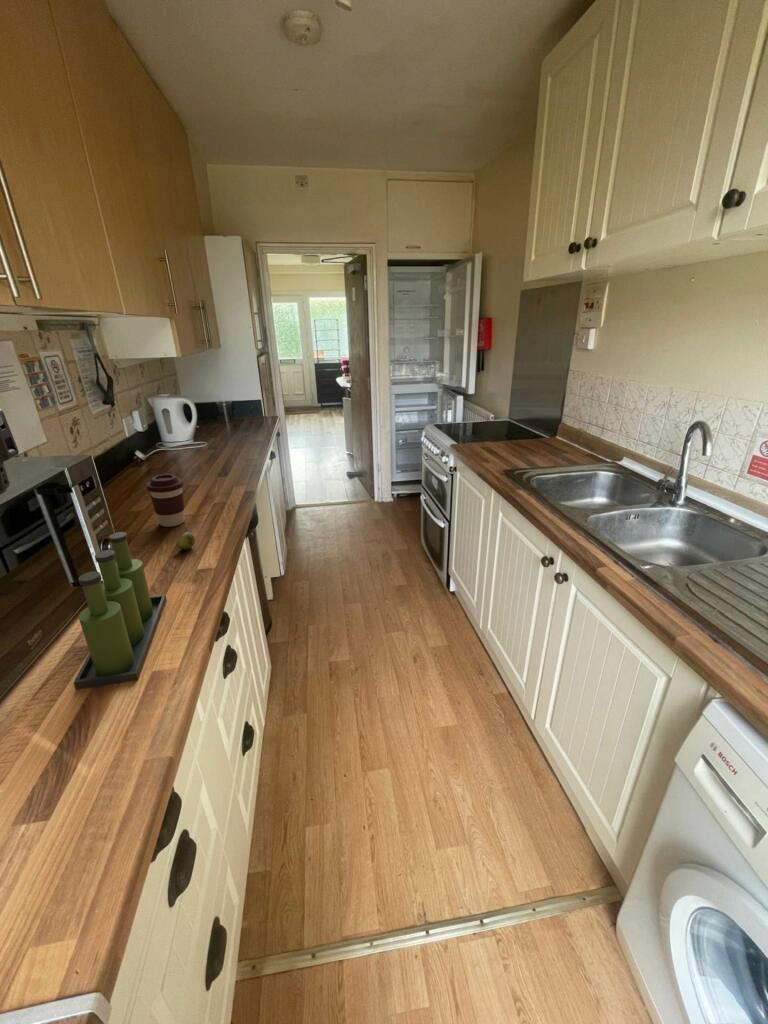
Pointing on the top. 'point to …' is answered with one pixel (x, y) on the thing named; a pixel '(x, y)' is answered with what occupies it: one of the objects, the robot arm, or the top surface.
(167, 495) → the coffee cup
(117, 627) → the bottle loose
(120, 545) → the bottle far
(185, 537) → the lime
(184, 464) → the top surface
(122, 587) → the bottle mid
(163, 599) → the tray
